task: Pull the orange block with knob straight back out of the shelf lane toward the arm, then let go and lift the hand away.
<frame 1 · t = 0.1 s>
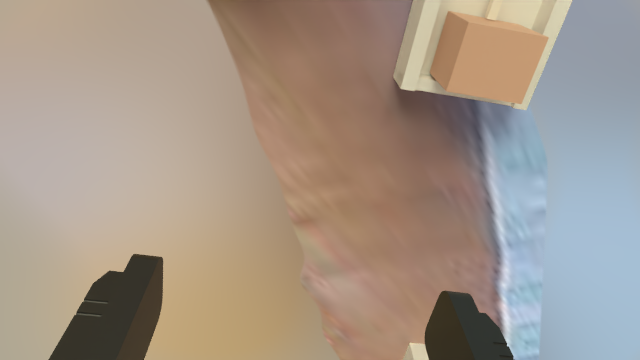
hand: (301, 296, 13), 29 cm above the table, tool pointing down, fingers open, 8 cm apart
shelf lane: (477, 11, 37), on the table
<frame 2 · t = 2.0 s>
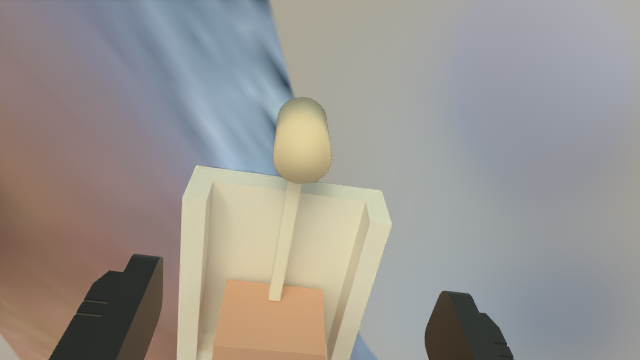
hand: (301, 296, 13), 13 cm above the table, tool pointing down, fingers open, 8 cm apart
shelf lane: (276, 263, 30), on the table
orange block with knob: (281, 262, 25), point 4 cm above the table, slide at 0.0 cm
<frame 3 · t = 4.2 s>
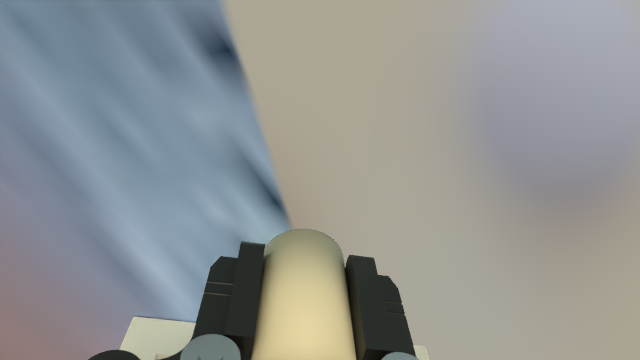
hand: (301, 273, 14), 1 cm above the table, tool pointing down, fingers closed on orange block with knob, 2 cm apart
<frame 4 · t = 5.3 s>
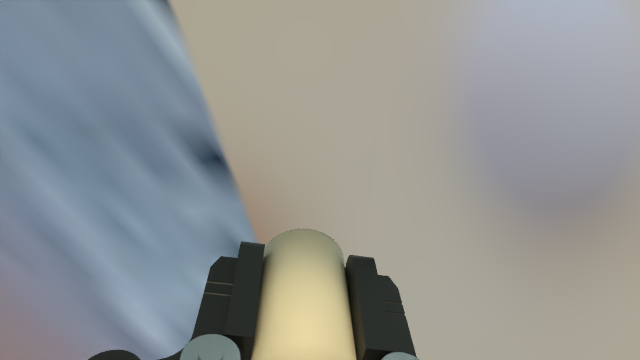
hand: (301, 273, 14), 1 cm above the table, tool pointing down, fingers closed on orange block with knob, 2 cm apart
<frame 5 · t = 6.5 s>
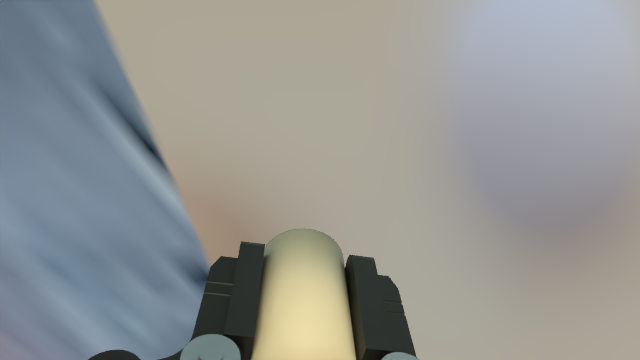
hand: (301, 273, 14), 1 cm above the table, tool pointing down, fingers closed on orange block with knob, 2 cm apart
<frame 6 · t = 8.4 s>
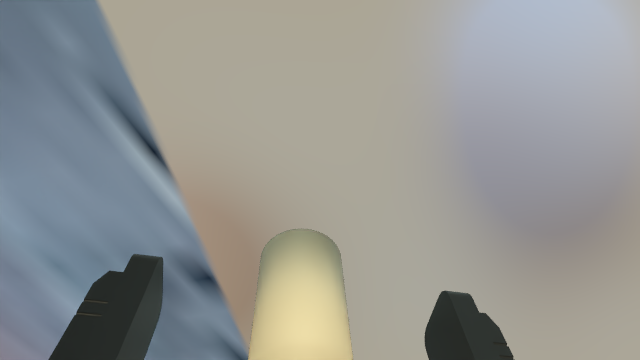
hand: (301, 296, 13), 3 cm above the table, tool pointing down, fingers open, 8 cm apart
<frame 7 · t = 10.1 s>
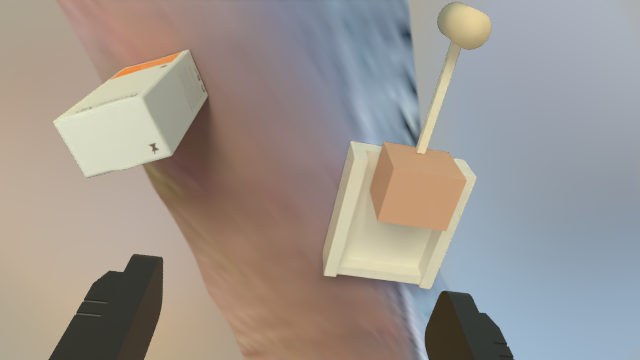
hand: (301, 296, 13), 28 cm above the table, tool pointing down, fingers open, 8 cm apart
skincare box: (166, 81, 38), on the table
shelf lane: (389, 208, 45), on the table
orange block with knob: (435, 118, 36), point 4 cm above the table, slide at 7.9 cm
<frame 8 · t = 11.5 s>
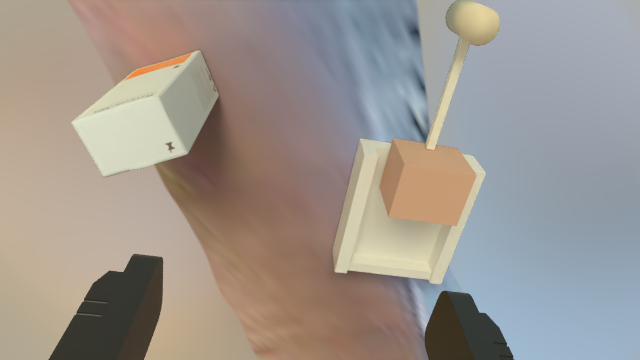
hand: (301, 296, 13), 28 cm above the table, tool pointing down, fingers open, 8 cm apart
skincare box: (177, 81, 38), on the table
shelf lane: (398, 205, 45), on the table
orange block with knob: (444, 114, 36), point 4 cm above the table, slide at 7.9 cm
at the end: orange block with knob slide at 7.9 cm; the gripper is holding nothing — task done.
